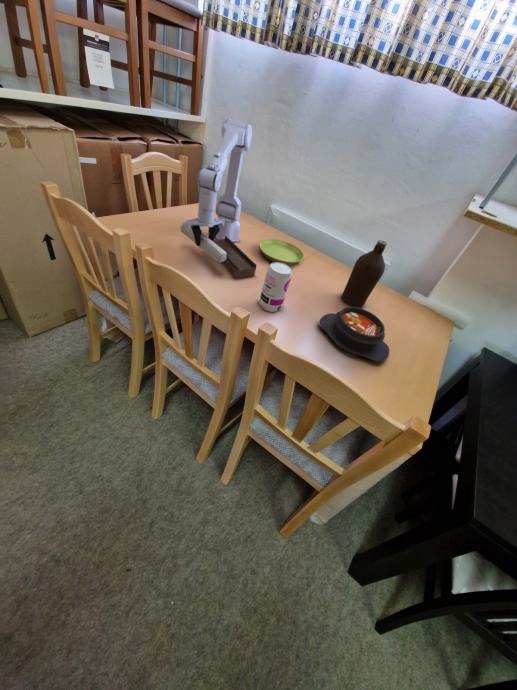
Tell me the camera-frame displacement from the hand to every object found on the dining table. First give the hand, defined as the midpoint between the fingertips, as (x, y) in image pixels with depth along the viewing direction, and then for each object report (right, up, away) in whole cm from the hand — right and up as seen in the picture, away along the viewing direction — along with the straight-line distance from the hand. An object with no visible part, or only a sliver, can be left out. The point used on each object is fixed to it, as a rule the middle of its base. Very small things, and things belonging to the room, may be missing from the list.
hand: (203, 244), depth 112 cm
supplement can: (+25, -25, -8) cm, 36 cm away
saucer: (+31, +2, +22) cm, 38 cm away
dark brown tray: (+9, -5, +8) cm, 13 cm away
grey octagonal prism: (0, -1, +1) cm, 2 cm away
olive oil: (+59, -21, +6) cm, 63 cm away
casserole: (+52, -37, -13) cm, 65 cm away
